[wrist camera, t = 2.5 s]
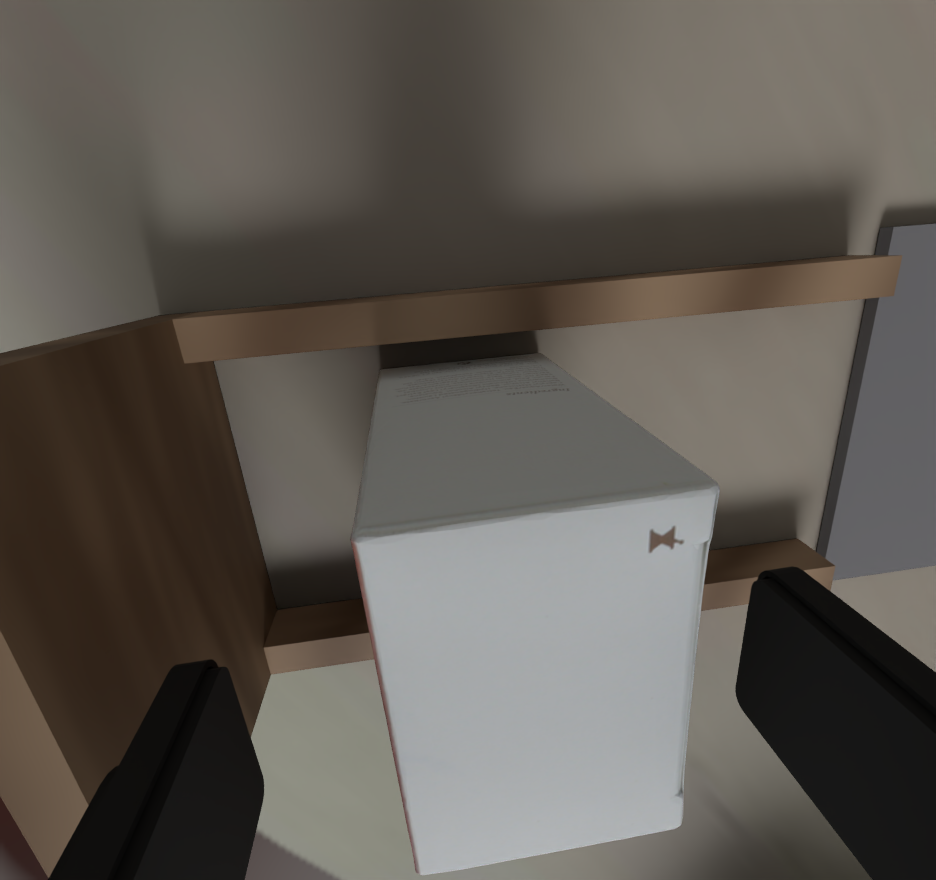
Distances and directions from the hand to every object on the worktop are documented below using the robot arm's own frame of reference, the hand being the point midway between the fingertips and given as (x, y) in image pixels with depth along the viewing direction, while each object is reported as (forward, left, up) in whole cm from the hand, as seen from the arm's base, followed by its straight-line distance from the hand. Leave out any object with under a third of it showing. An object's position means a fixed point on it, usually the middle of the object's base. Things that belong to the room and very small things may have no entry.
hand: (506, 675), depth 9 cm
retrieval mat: (-20, 0, -10) cm, 22 cm away
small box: (-1, 0, -10) cm, 10 cm away
